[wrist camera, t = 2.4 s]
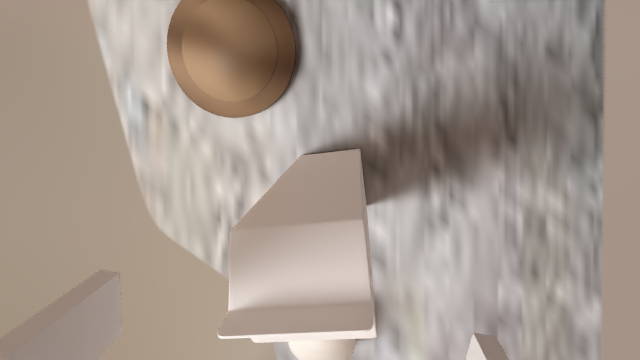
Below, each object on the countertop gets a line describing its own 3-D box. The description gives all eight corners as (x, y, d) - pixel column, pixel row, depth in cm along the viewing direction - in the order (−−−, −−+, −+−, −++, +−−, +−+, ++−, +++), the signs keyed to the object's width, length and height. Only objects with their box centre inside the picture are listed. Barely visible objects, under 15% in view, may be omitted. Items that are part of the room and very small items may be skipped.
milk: (300, 155, 33) (191, 261, 12) (361, 147, 32) (365, 248, 11) (308, 212, 34) (226, 402, 13) (367, 207, 33) (382, 400, 12)
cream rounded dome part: (296, 285, 37) (290, 304, 33) (359, 295, 36) (359, 315, 33) (291, 339, 38) (285, 362, 35) (351, 348, 38) (350, 373, 34)
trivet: (171, -26, 30) (166, -29, 29) (301, -13, 29) (300, -16, 28) (171, 109, 33) (166, 109, 32) (289, 124, 32) (287, 125, 31)
